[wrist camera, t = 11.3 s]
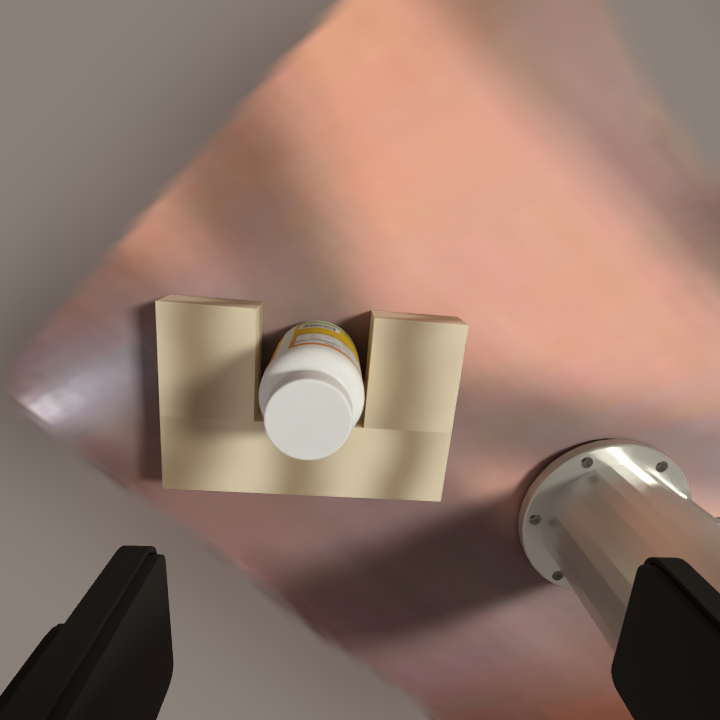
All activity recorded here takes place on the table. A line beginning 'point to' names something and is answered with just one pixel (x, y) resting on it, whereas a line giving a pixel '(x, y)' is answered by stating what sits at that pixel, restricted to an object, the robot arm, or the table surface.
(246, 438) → the notched board
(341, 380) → the supplement bottle
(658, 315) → the table surface
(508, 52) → the table surface
